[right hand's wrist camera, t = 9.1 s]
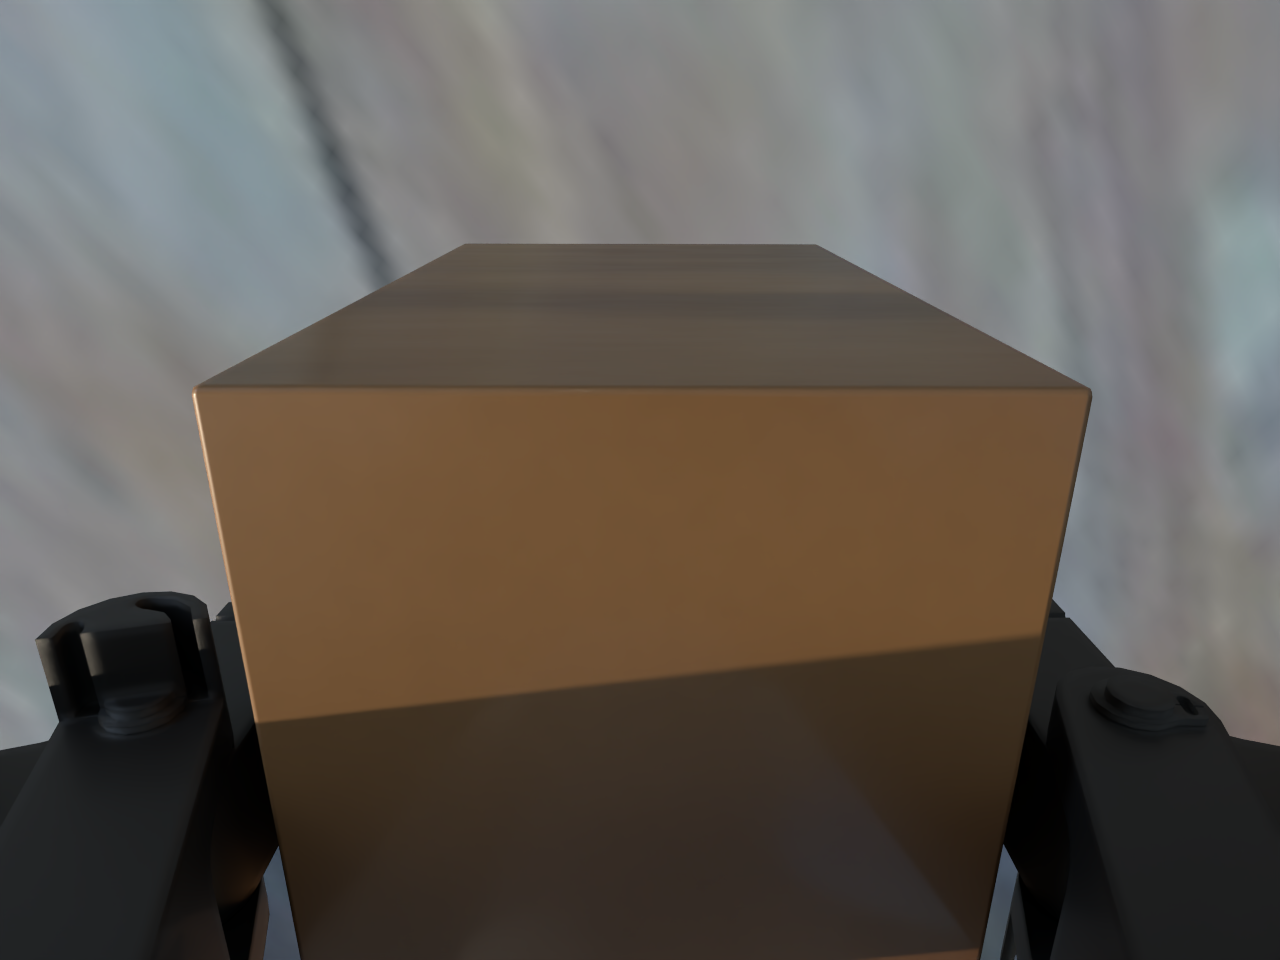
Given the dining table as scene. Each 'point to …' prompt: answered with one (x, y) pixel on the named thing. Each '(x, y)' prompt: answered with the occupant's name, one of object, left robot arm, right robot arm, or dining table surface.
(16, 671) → the dining table surface
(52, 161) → the dining table surface
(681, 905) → the bar
